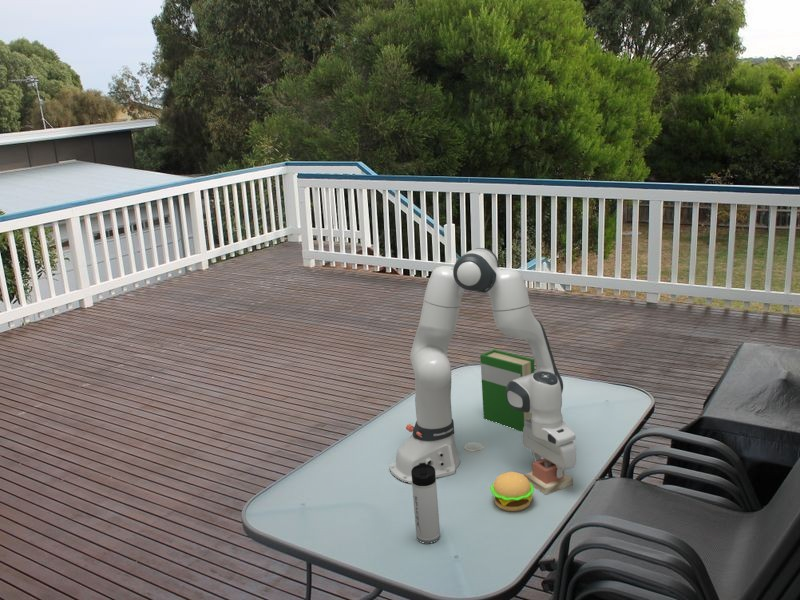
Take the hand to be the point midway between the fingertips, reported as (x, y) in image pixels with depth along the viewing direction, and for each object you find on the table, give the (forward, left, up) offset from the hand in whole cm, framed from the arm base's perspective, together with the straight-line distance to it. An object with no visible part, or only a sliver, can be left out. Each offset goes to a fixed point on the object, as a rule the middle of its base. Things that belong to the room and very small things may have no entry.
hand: (548, 470), depth 216 cm
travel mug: (-44, -4, -4) cm, 44 cm away
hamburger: (-15, -3, -4) cm, 16 cm away
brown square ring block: (0, 0, -2) cm, 2 cm away
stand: (0, 0, -4) cm, 4 cm away
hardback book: (+15, +41, -4) cm, 44 cm away
